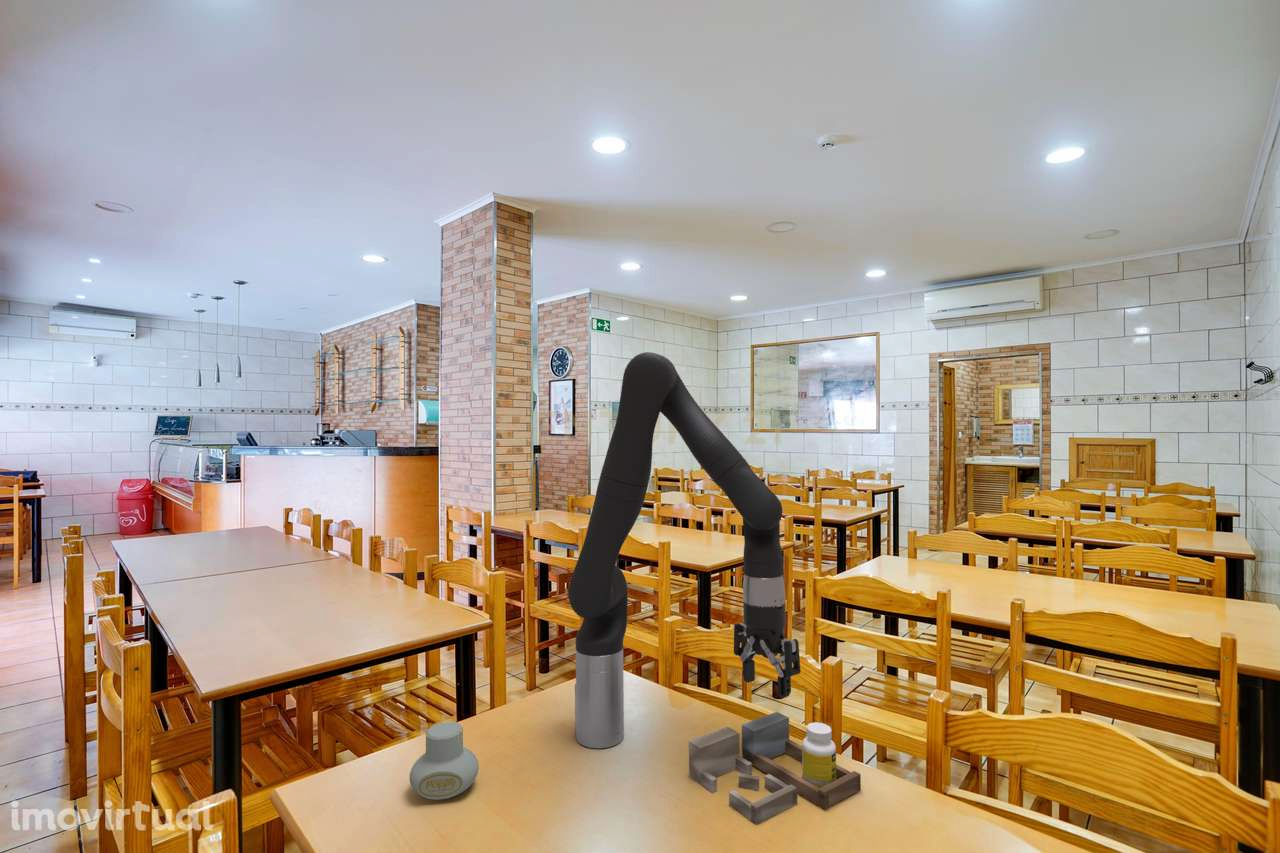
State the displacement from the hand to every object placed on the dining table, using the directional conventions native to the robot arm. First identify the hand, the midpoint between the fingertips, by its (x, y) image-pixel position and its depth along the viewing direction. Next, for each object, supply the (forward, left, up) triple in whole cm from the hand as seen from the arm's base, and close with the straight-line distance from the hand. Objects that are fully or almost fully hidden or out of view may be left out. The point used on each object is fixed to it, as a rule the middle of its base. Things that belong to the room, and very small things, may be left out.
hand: (766, 688), depth 112 cm
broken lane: (+5, -11, -12) cm, 17 cm away
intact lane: (+7, 0, -12) cm, 14 cm away
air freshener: (-24, -51, -13) cm, 58 cm away
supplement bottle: (+12, 0, -13) cm, 17 cm away
